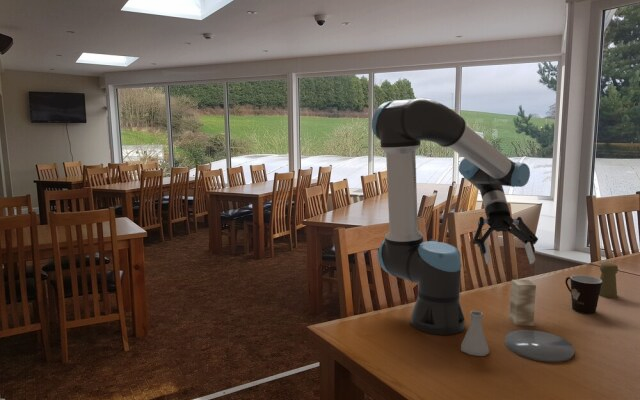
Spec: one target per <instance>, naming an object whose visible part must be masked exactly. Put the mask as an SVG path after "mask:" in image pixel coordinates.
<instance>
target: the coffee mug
mask: <svg viewBox="0 0 640 400" xmlns="http://www.w3.org/2000/svg"><path fill="white" fill-rule="evenodd" d="M569 280H570V286H569V284H568V282H569ZM601 285H602V280H601V279H600V277H599V278H598V277H595V276H592V275H591V276H590V275H586V274H585V275H583V274H574V275H570V276H568V277H566V278H565V286H566V288H567V289H568V291H569V292H570V295H571V309H572V310H573V311H575V312H576V313H580V314H586V315H591V314H595V313H597V312H596V311H597V307H598V302H599V298H600V296H599V294H600V289H601Z"/></svg>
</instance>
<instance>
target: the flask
mask: <svg viewBox="0 0 640 400" xmlns="http://www.w3.org/2000/svg"><path fill="white" fill-rule="evenodd" d="M469 316H470V321H469V325H468V329H467V330H466V334H465V336H464V338H463V340H462V342H461V344H460V351H461V352H463V353H465V354H468V355H470V356H477V357H485V356H486V355H488V354H490V349H489V346H488V341H487V339H486V337H485V333H484V330H483V324H482V321H483V318H482V317H483V316H484V313H483V311H478V310H471V311H469Z"/></svg>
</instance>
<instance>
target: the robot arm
mask: <svg viewBox="0 0 640 400" xmlns="http://www.w3.org/2000/svg"><path fill="white" fill-rule="evenodd" d="M371 119H372V120H371V129H372V133H373V135H375V138H377V139H378V140H379V141H380V149H381V150H383V151H384V152H385V154H386V155H385V157H386V178H387V179H386V181H387V182H386V183H387V184H386V185H387V199H388V200H387V204H388V205H387V206H388V225H389V226H388V227H389V228H388V229H389V230H388V232H387V233H385V235H384V240H382V241H381V242H380V246H379V248H378V252H377V259H378V262H379V265H380V267H381V268H382V269H383V271H385V272H386V273H387V274H389V275H391V276H393V277H395V278H400V279H403V280H406V281H408V282H411V283H415V284H417V298H416V300H415V304H414V305H413V306H414V307H413V310H412V312H411V315H410V323H411V325H412V327H414V329H417V330H419V331H420V332H423V333H427V334H432V335H437V336H438V335H439V336H441V335H442V336H443V335H444V336H445V335H446V336H447V335H454V334H455V335H456V334H458V333H461V332H463V331H464V330H465V326H466V324H465V323H466V319H465V315H464V312H463V309H462V305H461V301H460V291H461V272H462V271H461V269H462V262H461V261H462V260H461V252H460V250H459V249H458V248H457V247H455V246H454V245H452V244H449V243H446V242H442V241H440V242H439V241H434V240H429V241H424V234H423V233H422V232H421V231H420V230H419V228H418V227H419V225H418V224H419V223H418V222H419V221H418V219H419V218H418V198H417V197H418V195H417V194H418V193H417V192H418V191H417V189H418V188H417V167H416V164H417V162H416V161H417V160H416V159H417V158H416V151H417V150H418V149H419V148H420V147H421V141H426V142H433V143H436V144H437V145H438V146H440V147H443V148H450V149H451V150H453V151H454V152H455V153H456V154H458V155H460V156H462V157H463V158H462V159H461V161H460V162H459V165H458V172H459V173H460V174H461V176H463V178H464V179H466V180H467V181H468V182H469V183H470V184H471V185H473V186H474V187H475V188H477V190H479V192H480V195H481V199H482V200H481V201H482V204H483V208H484V213H485V217H486V218H484V217H483V216H479V219H478V220H477V229H476V232H475V234H474V237H473V239H472V244H473V245H477V247H478V248H479V251H480V254H482V255H483V256H484V260H485V264H486V265H489V264H490V263H491V260H492V258H491V255H490V251H489V246H488V242H487V240H488V238H489V237H490V235H491V234H492V233H493V232H494V231H495V232H502V233H503V232H504V233H506V232H507V233H509V234H511V235H513V236H515V237H516V238H517V239H519V241H521V242H523V243H524V245H525V246H524V249H525V252H526V256H527V259H528V262H529V265H533V264H534V263H535V261H536V257H535V252H536V250H535V245H536V244H537V242H538V241H539V237H537V236H536V234H534V232H533V231H532V230H531V229H530V228H529V227H528V226H527V225H526V224H525V223H524V220H523V219H522V217H521V216H518V217H517V218H512V216H511V212H510V208H509V205H508V201H507V197H506V194H505V191H504V190H505V189H504V186H506V187H512V188H515V187H516V188H517V187H521V188H523V187H525V186H526V185H527V184H528V183H529V179H530V176H531V171H530V167H529V165H528V164H527V163H523V162H519V161H517V162H514V161H513V160H511V159H510V158H508V157H507V156H506V155H505V154H503V152H501V151H500V150H498V149H497V148H496V147H495V146H493V145H492V144H491V143H489V142H488V141H487V140H486V139H484V138H483V137H482V136H480V135H479V134H478V133H476V131H474V130H473V129H471V128H470V127H469V126H467V122H466V120H465V119H464V118H463V116H461V115H460V114H459V113H457V112H456V111H454V110H453V109H451V107H448V106H447V105H444V104H443V103H441V102H439V101H436V100H434V99H430V98H426V97H418V98H409V99H394V100H389V101H386V102H383V103H382V104H380V105H379V106H378V108H377V109H376V110H375V111H374V113H373V116H372V118H371ZM486 224H487V226H489V228H488V229H487V230H486V231H485V233H484V234H483V235H482V237H481V238H480V235H481V232H482V229H483V227H484V226H485V225H486Z"/></svg>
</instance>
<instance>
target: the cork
mask: <svg viewBox="0 0 640 400" xmlns="http://www.w3.org/2000/svg"><path fill="white" fill-rule="evenodd" d="M599 271H600V272H601V273H600V276H599V279H601V280H602V285H601V289H600V294H599V297H603V298H609V299H610V298H611V299H614V298H617V297H618V289H617V274H618V273H619V272H618V271H619V268H618V265H616V264H615V263H610V262H602V263H601V264H600V266H599Z"/></svg>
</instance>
